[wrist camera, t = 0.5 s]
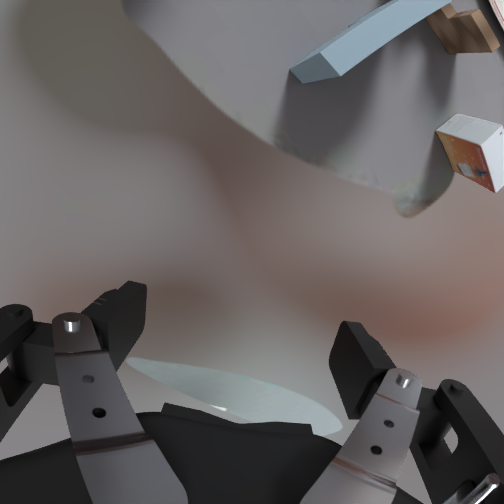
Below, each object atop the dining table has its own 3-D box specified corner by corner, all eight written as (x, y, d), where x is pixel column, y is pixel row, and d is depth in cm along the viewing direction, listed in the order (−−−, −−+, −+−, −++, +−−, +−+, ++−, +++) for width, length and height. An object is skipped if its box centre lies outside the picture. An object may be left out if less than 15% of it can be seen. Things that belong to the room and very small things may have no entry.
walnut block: (382, -32, 23) (416, -55, 14) (392, -37, 22) (427, -59, 13) (448, 53, 29) (492, 52, 20) (457, 47, 28) (500, 45, 19)
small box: (434, 129, 35) (479, 144, 26) (456, 112, 34) (502, 123, 24) (453, 172, 38) (495, 195, 29) (473, 154, 37) (517, 173, 27)
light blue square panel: (289, 69, 32) (319, 52, 19) (375, 9, 27) (436, -20, 14) (302, 83, 33) (340, 76, 20) (387, 23, 28) (452, 1, 15)
